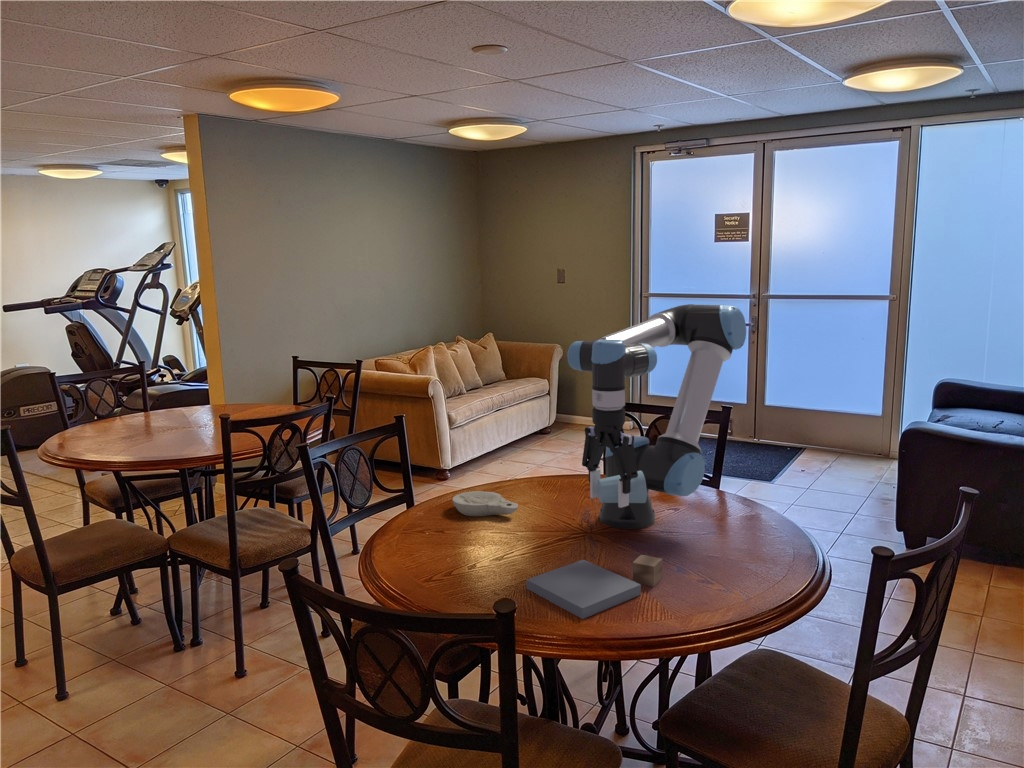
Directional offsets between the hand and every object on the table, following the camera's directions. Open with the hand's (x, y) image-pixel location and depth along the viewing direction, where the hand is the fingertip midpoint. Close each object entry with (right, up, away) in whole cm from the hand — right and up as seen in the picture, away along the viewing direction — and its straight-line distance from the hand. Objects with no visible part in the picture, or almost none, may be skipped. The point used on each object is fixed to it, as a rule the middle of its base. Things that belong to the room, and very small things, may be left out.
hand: (609, 501), depth 174 cm
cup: (-1, -2, +1) cm, 2 cm away
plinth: (-7, -18, -13) cm, 23 cm away
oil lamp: (-30, -10, +38) cm, 49 cm away
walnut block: (+7, -17, -8) cm, 20 cm away
